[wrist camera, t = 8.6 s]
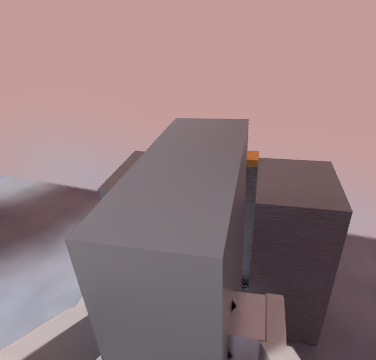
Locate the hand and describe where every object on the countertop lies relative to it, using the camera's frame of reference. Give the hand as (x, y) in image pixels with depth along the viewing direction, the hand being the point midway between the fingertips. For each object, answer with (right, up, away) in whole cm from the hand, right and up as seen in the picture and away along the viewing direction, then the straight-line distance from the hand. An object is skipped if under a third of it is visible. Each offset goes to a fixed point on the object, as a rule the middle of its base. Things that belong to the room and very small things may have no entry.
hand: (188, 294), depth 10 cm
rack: (+2, -6, +14) cm, 16 cm away
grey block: (+1, -4, +4) cm, 6 cm away
